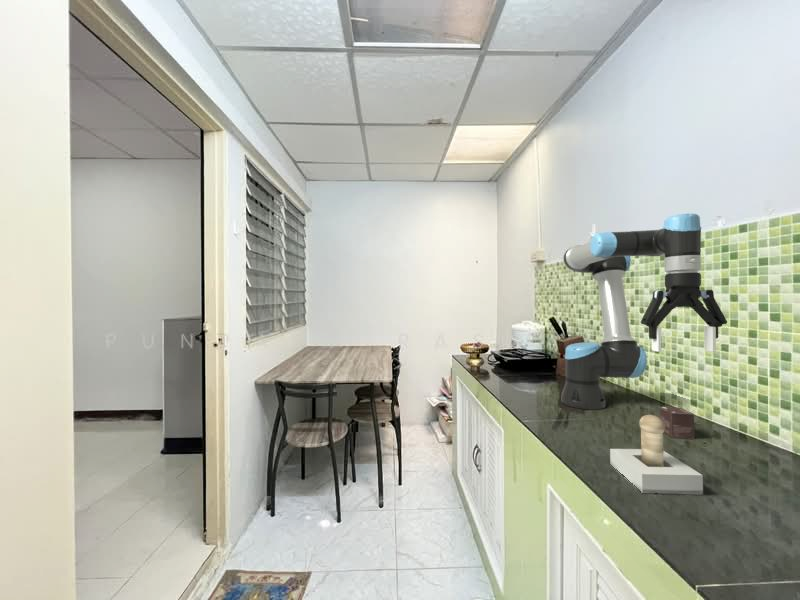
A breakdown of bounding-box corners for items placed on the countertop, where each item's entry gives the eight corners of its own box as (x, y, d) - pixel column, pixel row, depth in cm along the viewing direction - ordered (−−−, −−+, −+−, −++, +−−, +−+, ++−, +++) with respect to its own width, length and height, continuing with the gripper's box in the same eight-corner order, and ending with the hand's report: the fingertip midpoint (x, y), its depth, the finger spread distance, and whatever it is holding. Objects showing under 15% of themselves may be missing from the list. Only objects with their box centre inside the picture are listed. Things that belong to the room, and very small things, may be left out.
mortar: (610, 465, 82) (610, 448, 82) (661, 465, 81) (661, 449, 81) (642, 493, 70) (642, 474, 70) (703, 494, 69) (702, 475, 69)
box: (695, 439, 96) (694, 414, 96) (671, 438, 97) (670, 413, 97) (682, 431, 102) (681, 407, 102) (659, 430, 103) (659, 406, 103)
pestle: (635, 469, 78) (634, 411, 78) (656, 470, 78) (655, 411, 78) (649, 480, 74) (647, 418, 74) (671, 480, 73) (669, 418, 73)
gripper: (642, 272, 88) (643, 353, 88) (745, 270, 86) (746, 352, 86) (625, 274, 95) (626, 348, 96) (720, 272, 93) (720, 348, 94)
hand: (683, 351), depth 91 cm, fingers open, 13 cm apart
